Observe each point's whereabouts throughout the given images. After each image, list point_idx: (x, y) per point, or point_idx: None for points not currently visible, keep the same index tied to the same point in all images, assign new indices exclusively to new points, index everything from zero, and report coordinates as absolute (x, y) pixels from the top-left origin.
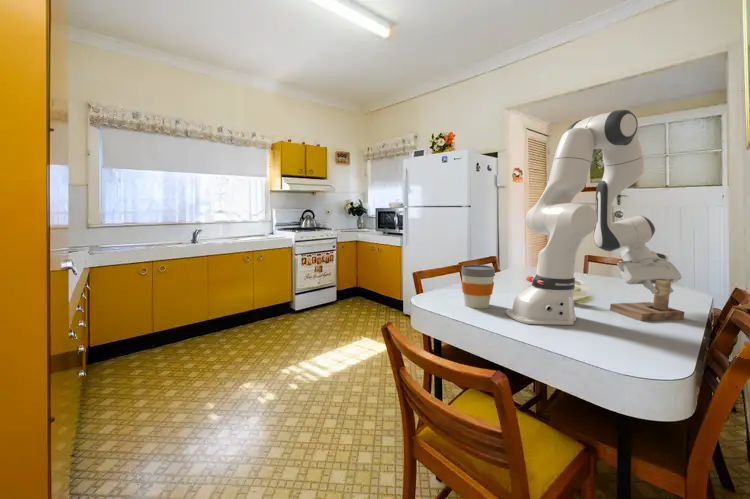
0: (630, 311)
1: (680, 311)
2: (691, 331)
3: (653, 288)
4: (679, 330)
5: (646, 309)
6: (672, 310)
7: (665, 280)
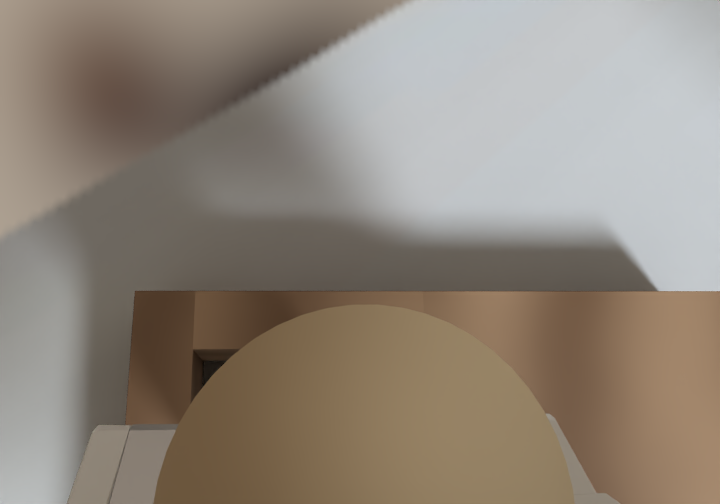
0: None
1: (172, 312)
2: (460, 19)
3: (583, 491)
4: (536, 53)
5: None
6: (192, 400)
7: None
